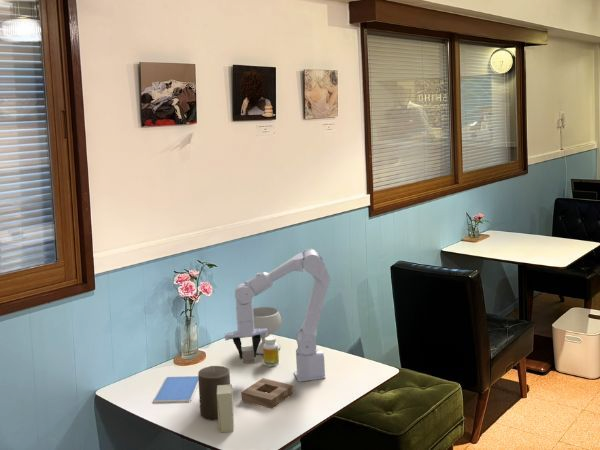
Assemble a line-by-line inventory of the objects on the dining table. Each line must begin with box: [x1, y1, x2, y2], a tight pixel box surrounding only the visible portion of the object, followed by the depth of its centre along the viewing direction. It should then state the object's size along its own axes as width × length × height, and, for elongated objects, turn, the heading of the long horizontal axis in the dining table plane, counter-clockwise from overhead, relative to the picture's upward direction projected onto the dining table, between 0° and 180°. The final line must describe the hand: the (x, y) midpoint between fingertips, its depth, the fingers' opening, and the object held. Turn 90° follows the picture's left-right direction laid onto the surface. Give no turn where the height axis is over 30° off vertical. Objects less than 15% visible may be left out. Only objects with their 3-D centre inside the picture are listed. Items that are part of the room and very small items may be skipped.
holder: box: [240, 377, 294, 410], centre depth 212 cm, size 12×12×3 cm
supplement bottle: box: [263, 335, 280, 367], centre depth 239 cm, size 5×5×10 cm
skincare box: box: [217, 383, 235, 433], centre depth 193 cm, size 6×4×12 cm
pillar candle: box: [197, 365, 231, 421], centre depth 202 cm, size 10×10×15 cm
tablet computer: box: [152, 375, 199, 404], centre depth 221 cm, size 19×13×1 cm, turn 178°
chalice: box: [251, 306, 282, 355], centre depth 253 cm, size 14×14×15 cm
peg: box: [240, 345, 256, 365], centre depth 224 cm, size 4×4×5 cm
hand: (247, 357), depth 225 cm, fingers closed on peg, 4 cm apart
